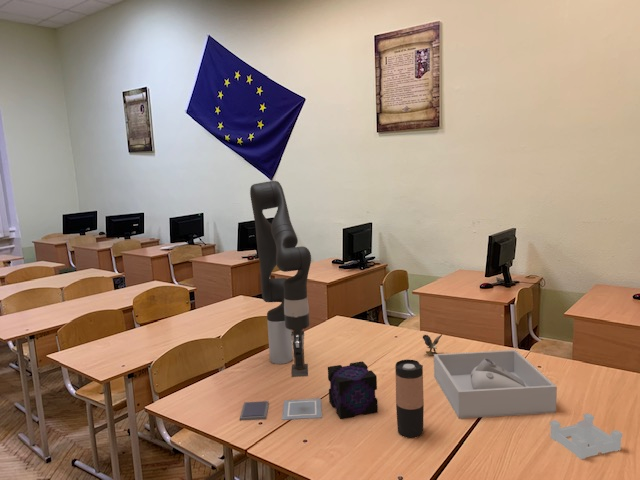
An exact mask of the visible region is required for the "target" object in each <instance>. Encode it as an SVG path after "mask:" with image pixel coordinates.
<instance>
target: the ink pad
mask: <svg viewBox="0 0 640 480" xmlns="http://www.w3.org/2000/svg"><path fill="white" fill-rule="evenodd" d="M269 404H270V403H269V400H262V401H248V402H247V401H245V402H243V405H242V407H241V408H242V409H241V412H240V416H239V421H253V420H254V421H255V420H256V421H257V420H258V421H259V420H266V419H267V418H268V417H267V415H268V409H269Z"/></svg>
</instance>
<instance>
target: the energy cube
mask: <svg viewBox="0 0 640 480" xmlns="http://www.w3.org/2000/svg"><path fill="white" fill-rule="evenodd" d="M377 377H378V376H377V375H376V374H375V373H374V371H373V370H369V369H368V365H367V364H366V363H365V362H364V361H355V362H351V363H349V365H345V366H343V365H341V364H337V365H333V366H327V380H328V381H329V383H330V384H329V385H330V387H329V388H328V399H329V400H328V401H329V404H330V405H331V406H332V407H331V408H332V409H334V408H335V409H336V411H335V413H336V415H337V416H338V418H339V419H340V420H345V419H351V418H354V417H355V416H356V415H361V414H363V415H365V416H367V415H371V414H377V413H379V411H378V399H377V398H376V391H377V390H378V380H377Z"/></svg>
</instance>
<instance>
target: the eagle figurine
mask: <svg viewBox="0 0 640 480" xmlns="http://www.w3.org/2000/svg"><path fill="white" fill-rule="evenodd" d="M442 336H443V334H442V333H441V334H440V335H438V336H437V337H436V338H434V340H432V339H431V336H429V335H428V334H423V336H422V339H423V341H424V344H425V345H426V348H427V349H429V350H428V351H427V350H425V353H426V354H423V357H424V356H429V355H434V354H439V353H438V352H437V351H436V349H437V350H438V347H437V346H436V345H438V343H439V340H440V339H441V338H442ZM432 349H433V351H432Z"/></svg>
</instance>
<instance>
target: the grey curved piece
mask: <svg viewBox="0 0 640 480" xmlns="http://www.w3.org/2000/svg"><path fill="white" fill-rule="evenodd" d="M471 384H472V387H473V389H474V390H476V389H494V388H512V387H527V386H526V385H525V383H524V382H523V381H522V380H521V379H519V378H518V377H516V376H514V375H513V374H511V373H510V372H508V371H506V370H504V369H503V368H501V367H499V366H497V365H495V363H494V362H493V361H491V360H490V359H487V358H485V359H484V360H483V361H482V362H481V363H480V364H479V365H478V366H477V367H475V368H474V369H473V371H472V372H471Z"/></svg>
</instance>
